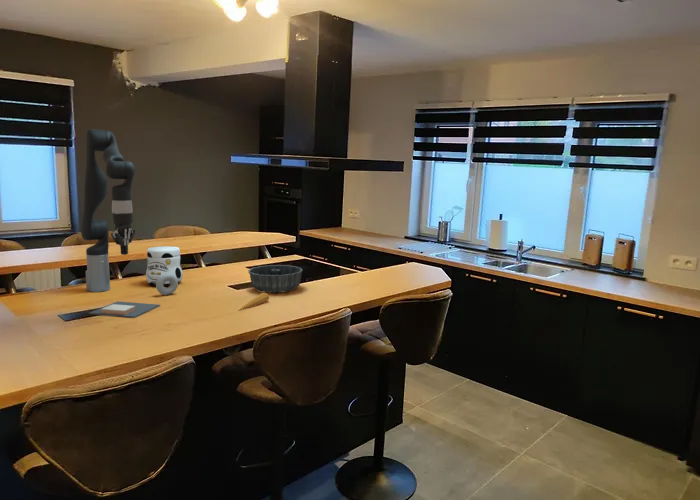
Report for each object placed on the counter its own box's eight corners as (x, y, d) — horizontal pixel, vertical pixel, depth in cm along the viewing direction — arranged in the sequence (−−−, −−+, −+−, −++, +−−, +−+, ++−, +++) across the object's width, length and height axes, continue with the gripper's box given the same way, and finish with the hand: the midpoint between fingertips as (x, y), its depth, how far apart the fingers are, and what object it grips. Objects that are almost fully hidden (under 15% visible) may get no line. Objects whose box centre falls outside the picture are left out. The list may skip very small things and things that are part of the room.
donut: (157, 297, 228) (157, 275, 226) (155, 295, 231) (154, 274, 229) (179, 294, 234) (178, 273, 233) (176, 292, 237) (175, 271, 235)
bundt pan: (237, 292, 241) (237, 271, 239) (266, 281, 265) (266, 262, 264) (286, 298, 231) (286, 277, 230) (311, 286, 255) (311, 267, 254)
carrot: (264, 302, 227) (261, 292, 227) (272, 299, 225) (268, 290, 225) (235, 317, 210) (231, 307, 210) (243, 314, 208) (238, 304, 208)
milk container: (148, 289, 243) (146, 252, 240) (144, 281, 258) (143, 246, 255) (185, 285, 251) (184, 250, 248) (179, 278, 266) (178, 245, 263)
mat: (88, 314, 200) (88, 312, 200) (117, 302, 217) (117, 301, 217) (134, 317, 196) (134, 316, 196) (159, 306, 214) (159, 304, 214)
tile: (113, 308, 206) (101, 313, 200) (112, 304, 206) (101, 308, 199) (135, 310, 205) (124, 314, 198) (135, 305, 204) (124, 310, 198)
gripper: (124, 210, 209) (126, 251, 211) (103, 212, 196) (105, 256, 198) (140, 210, 207) (142, 252, 210) (120, 213, 194) (122, 257, 197)
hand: (124, 254), depth 204 cm, fingers closed
